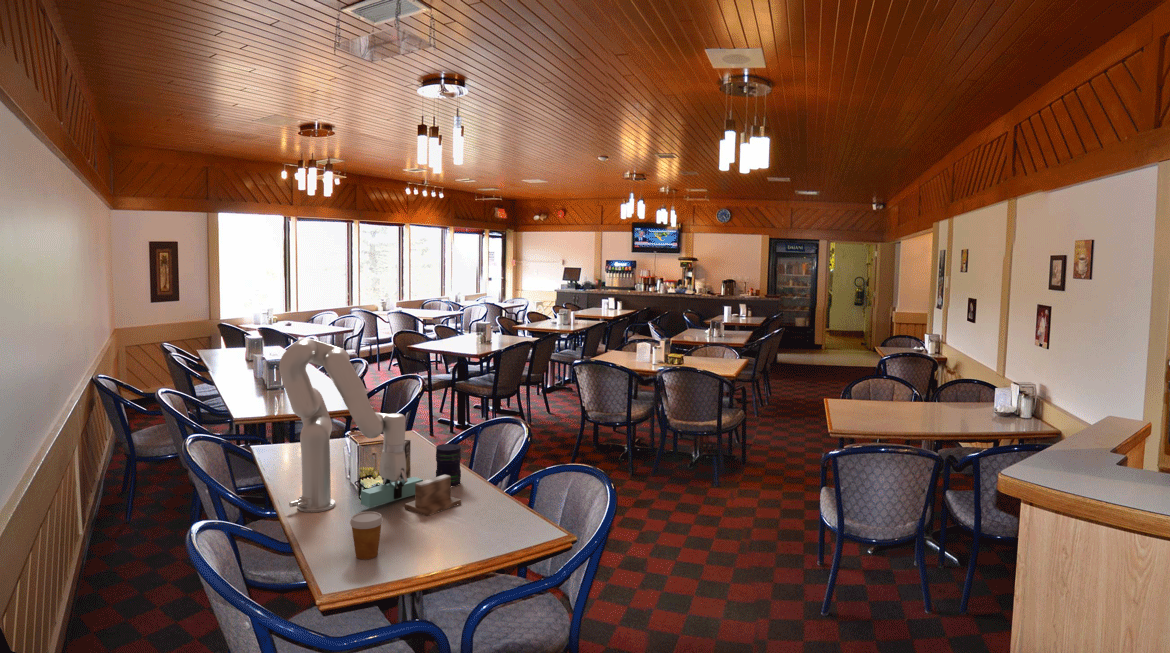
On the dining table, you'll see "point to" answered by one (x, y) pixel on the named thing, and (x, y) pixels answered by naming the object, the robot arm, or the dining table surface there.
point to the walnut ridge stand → (433, 496)
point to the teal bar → (387, 492)
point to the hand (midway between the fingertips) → (392, 495)
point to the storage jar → (449, 462)
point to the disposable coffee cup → (366, 534)
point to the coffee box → (407, 459)
